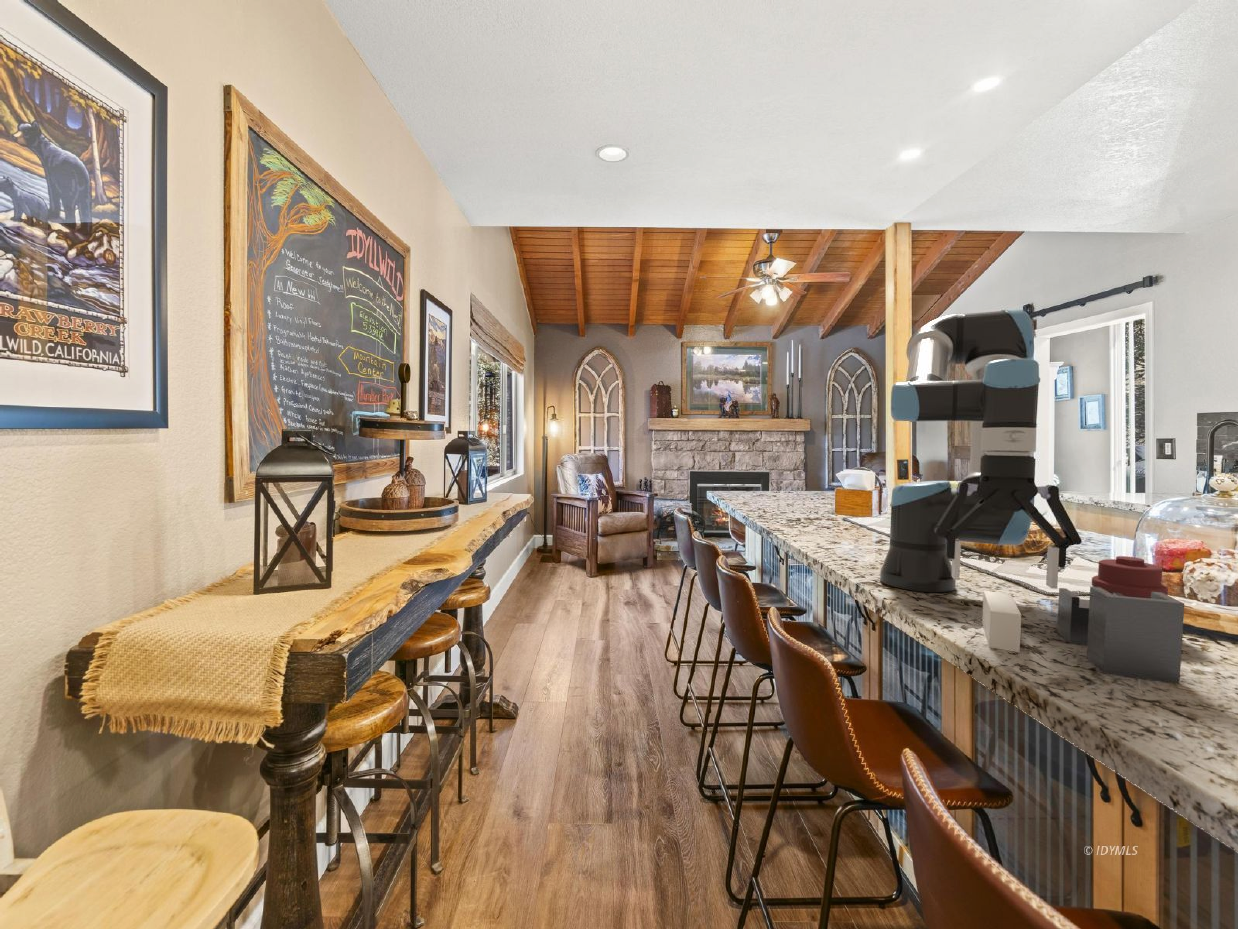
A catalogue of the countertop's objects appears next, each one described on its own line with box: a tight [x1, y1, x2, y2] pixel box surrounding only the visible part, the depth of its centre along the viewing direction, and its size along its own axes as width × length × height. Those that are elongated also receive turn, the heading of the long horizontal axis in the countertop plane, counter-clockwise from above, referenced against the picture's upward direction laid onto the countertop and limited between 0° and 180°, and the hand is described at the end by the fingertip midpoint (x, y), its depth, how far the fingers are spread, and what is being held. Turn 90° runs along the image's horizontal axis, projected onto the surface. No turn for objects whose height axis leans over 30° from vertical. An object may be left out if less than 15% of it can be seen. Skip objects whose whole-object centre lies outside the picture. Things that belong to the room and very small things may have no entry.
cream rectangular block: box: [981, 590, 1022, 653], centre depth 96 cm, size 14×4×6 cm, turn 152°
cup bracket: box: [1086, 585, 1185, 684], centre depth 82 cm, size 6×8×11 cm
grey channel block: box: [1056, 587, 1124, 646], centre depth 95 cm, size 6×8×8 cm
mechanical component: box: [1091, 555, 1169, 599], centre depth 101 cm, size 12×10×10 cm
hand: (1002, 582), depth 96 cm, fingers open, 13 cm apart
